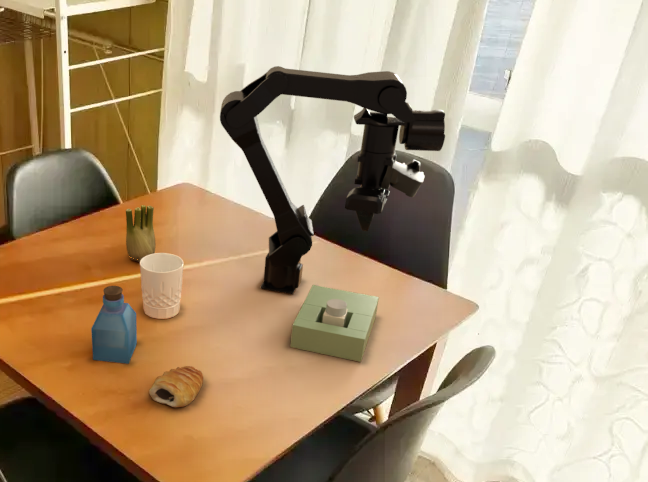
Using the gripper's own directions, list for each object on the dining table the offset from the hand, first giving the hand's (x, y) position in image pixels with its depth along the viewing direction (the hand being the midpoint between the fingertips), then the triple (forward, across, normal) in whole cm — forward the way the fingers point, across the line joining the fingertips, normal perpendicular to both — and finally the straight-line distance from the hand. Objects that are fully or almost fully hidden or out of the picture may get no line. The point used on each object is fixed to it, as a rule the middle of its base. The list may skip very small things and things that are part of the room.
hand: (365, 230), depth 139 cm
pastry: (+13, -45, +20) cm, 51 cm away
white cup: (+13, -22, +32) cm, 41 cm away
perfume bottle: (+13, -38, +34) cm, 52 cm away
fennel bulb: (+13, -4, +44) cm, 46 cm away
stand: (+12, -17, +1) cm, 22 cm away
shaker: (+9, -18, +1) cm, 20 cm away
